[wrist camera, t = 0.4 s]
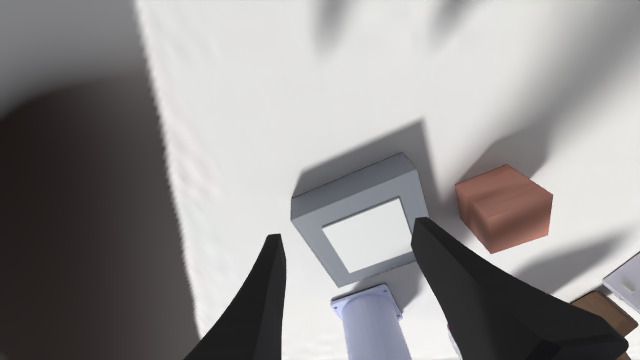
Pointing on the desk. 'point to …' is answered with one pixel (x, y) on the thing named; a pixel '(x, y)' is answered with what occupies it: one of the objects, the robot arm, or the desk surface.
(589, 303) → the wooden block
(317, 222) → the grey square frame
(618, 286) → the game console
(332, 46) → the desk surface
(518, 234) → the salmon brown cube
